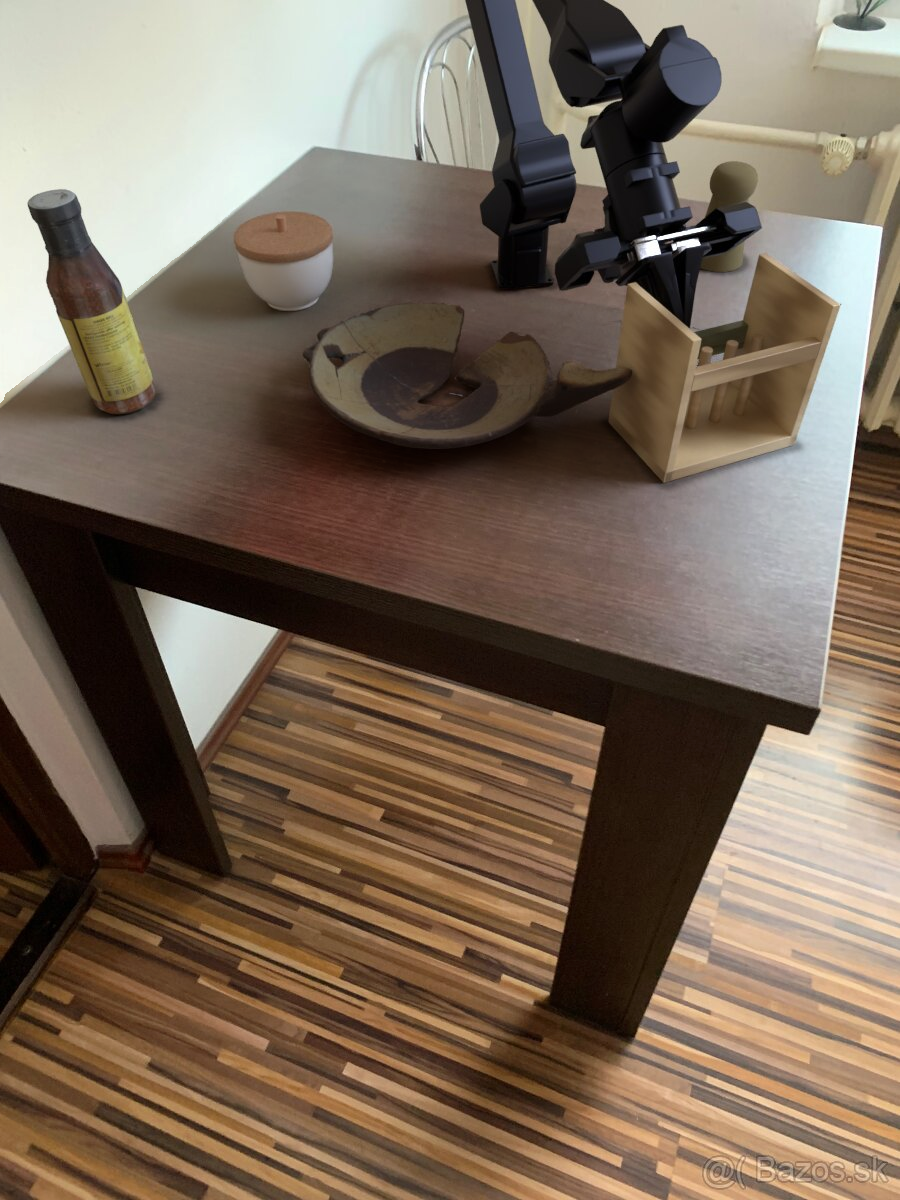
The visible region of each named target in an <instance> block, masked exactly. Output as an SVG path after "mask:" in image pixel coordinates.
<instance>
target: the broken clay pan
mask: <svg viewBox="0 0 900 1200" xmlns="http://www.w3.org/2000/svg"><path fill="white" fill-rule="evenodd" d="M464 319H465V309H464V308H463V307H462V306H461V305H455V304H454V305H453V304H447V303H443V302H441V303H440V302H434V301H433V302H414V301H413V302H412V301H409V302H399V303H393V304H388V305H384V306H381V307H377V308H374V309H373V310H372V309H371V310H369V311H366V312H361V313H360V314H359V315H353V316H352V317H349V318H348V319H346V320H343V321H340V322H339V323H338V324H336V325H333V326H330V327H325V328H322V329H320V330H319V331H318V332H317V334H316V338H317V340H318V341H317V342H316V343H314V344H313V345H312V346H310V347H307V348H305V349H304V350H303V351H302V357H303V359H305V361H306V362H307V363H309V367H308V378H309V381H310V386H311V389H312V391H313V394H314V395H315V397H316V399H317V400H318V402H319V403H320V404H321V406H323V408H324V409H325V410H326V411H327V412H328V413H329V414H330V415H332V416H333V418H335V419H337V421H340V422H341V423H343V424H344V425H346V426H347V427H349V428H350V429H352V430H354V431H357V432H358V433H361V434H364V435H367V436H369V437H372V438H375V439H378V440H379V441H380V440H381V441H383V442H388V443H390V444H393V445H397V446H402V447H406V448H414V449H426V450H427V449H428V450H443V449H444V450H445V449H456V448H464V447H470V446H474V445H480V444H483V443H486V442H487V443H488V442H490V441H494V440H495V439H496V440H497V439H499V438H501V437H504V436H506V435H508V434H510V433H513V432H514V431H515V430H517V429H518V428H520V427H521V426H524V425H525V424H526V423H527V422H529V421H530V420H531V419H532V418H533V417H541V418H551V417H555V416H557V415H560V414H562V413H564V412H567V411H568V410H571V409H572V408H574V407H576V406H579V405H581V404H583V403H585V402H588V401H590V400H592V399H595V398H597V397H599V396H601V395H603V394H606V393H608V392H610V391H613V389H615V388H617V387H619V386H621V385H623V384H624V383H626V382H627V381H628V380H630V378H631V376H632V370H631V369H629V368H626V367H618V368H616V367H614V368H608V369H592V368H588V367H586V366H585V365H584V364H582V363H580V362H579V361H577V360H575V359H573V358H572V359H571V358H570V359H566V360H565V361H563V362H562V364H561V366H560V369H559V370H558V372H557V373H558V374H557V376H556V377H557V378H556V379H554V377H553V376H552V373H551V366H550V361H549V360H548V356H547V354H546V353H545V350H544V349H543V348H542V346H541V345H540V344H539V342H538V341H537V340H536V339H535V338H534V337H533V336H531V335H530V334H529V333H526V334H524V335H521V334H519V333H517V332H514V331H510V332H508V333H506V334H505V335H503V337H502V338H501V339H498V340H497V341H496V342H495V344H494V345H493V346H492V347H491V348H489V349H486V350H485V351H484V352H483V353H481V355H479V357H476V359H474V360H473V361H471V362H470V363H469V364H468V365H466V366H465V367H463V368H462V369H461V370H460V371H458V373H457V374H456V376H455V380H457V381H458V382H459V383H462V384H464V385H466V387H467V386H469V387H472V388H473V389H474V390H473V392H472V393H469V395H467V396H466V397H463V394H456V393H453V392H452V393H451V392H449V393H448V394H449V395H456V396H460V397H461V399H459V401H458V402H457V403H455V404H453V405H451V406H448V407H447V406H440V405H438V406H437V405H433V404H427V403H425V404H424V403H420V402H419V401H422V400H423V399H424V398H426V397H427V396H429V395H431V394H433V393H435V392H436V391H437V390H438V389H440V388H442V386H443V385H444V384H445V381H448V379H449V377H450V376H451V372H452V370H453V367H454V364H455V358H456V357H457V353H458V349H459V348H458V347H459V342H460V338H461V336H462V329H463V324H464ZM332 359H340V360H341V363H342V364H341V365H340V366H336V365H334V363H333V362H332V361H331V360H332ZM462 397H463V398H462Z"/></svg>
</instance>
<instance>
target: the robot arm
mask: <svg viewBox="0 0 900 1200" xmlns="http://www.w3.org/2000/svg"><path fill="white" fill-rule="evenodd" d="M464 1H465V2H464V3H465V5H466V6H465V7H466V9H467V15H468V17H469V21H470V26H471V29H472V34H473V39H474V42H475V46H476V50H477V54H478V60H479V62H480V66H481V71H482V74H483V75H482V76H483V79H484V83H485V87H486V91H487V95H488V99H489V103H490V107H491V111H492V115H493V119H494V123H495V128H496V133H497V136H498V144H497V148H496V151H495V157H494V160H493V164H492V167H491V175H492V180H493V188H492V189H490V192H488V194H487V195H486V196H485V198H484V199H483V200H482V201H481V202H480V204H479V210H480V211H479V212H480V217H481V218H480V219H481V224H482V225H483V226H484V227H485V228H487V230H490V231H491V232H492V233H493V234H495V235H496V236H497V237H498V238H497V239H498V240H497V259H493V260H490V268H491V271H492V273H493V276H494V279H495V282H496V285H497V287H498V288H499V289H500V290H509V289H510V290H512V289H521V288H522V289H523V288H524V289H525V288H535V287H536V288H537V287H549V286H553V285H554V284H555V283H554V278H553V275H552V273H551V270H550V269H549V266H548V263H547V262H548V261H547V259H548V247H549V246H548V243H549V231H550V226H554V225H558V224H565V223H566V222H567V220H568V217H569V214H570V211H571V208H572V205H573V202H574V199H575V196H576V192H577V180H576V176H575V175H576V174H577V170H576V168H575V166H574V164H573V160H572V156H571V151H570V143H569V142H570V141H569V140H568V138H567V137H566V135H565V133H559V134H555V133H553V132H552V131H551V130H550V128H549V127H548V126H547V125H546V124H545V122H544V118H543V114H542V109H541V105H540V101H539V97H538V93H537V92H538V91H537V89H536V83H535V79H534V75H533V70H532V66H531V62H530V58H529V54H528V48H527V45H526V41H525V36H524V32H523V31H524V30H523V28H522V23H521V19H520V15H519V10H518V7H517V2H516V0H464ZM531 1H532V2H533V4H534V6H535V8H536V10H537V12H538V14H539V16H540V18H541V19H542V21H543V24H544V25H545V28H546V30H547V32H548V36H549V38H550V43H549V52H548V53H549V54H548V64H549V67H550V69H551V72H552V74H553V77H554V80H555V83H556V85H557V88H558V90H559V93H560V95H561V97H562V98H563V100H564V101H565V103H566V104H567V105H568V106H569V107H570V108H586V107H590V106H596V105H599V104H604V103H608V102H609V104H607V105H606V106H605V107H604V108H603V109H602V110H601V112H600V113H599V114H596V115H595V114H594V115H589V116H588V118H587V124H586V127H585V130H584V131H583V133H582V135H581V138H580V143H579V144H580V145H579V146H580V148H581V149H582V150H587V149H594V151H595V152H596V156H597V157H596V158H597V160H598V163H599V167H600V171H601V173H602V174H601V175H602V177H603V181H604V185H605V188H606V191H607V195H606V196H605V197H604V198H603V199H602V200H601V202H602V204H603V206H602V211H603V214H604V226H603V227H601V228H596V229H594V231H593V230H590V231H589V230H588V231H585V232H581V233H576V235H575V236H574V239H573V241H571V243H570V244H569V245H568V247H566V249H564V251H563V252H562V253H561V254H560V255H559V256H558V257H557V259H556V261H555V264H554V276H555V279H556V282H557V286H558V290H559V291H561V292H564V291H568V290H572V289H573V290H574V289H577V288H582V287H586V286H588V285H589V284H590V283H591V281H592V279H593V277H594V275H595V272H596V271H597V272H598V274H599V277H600V278H601V280H602V282H603V283H605V284H610V283H614V281H615V285H617V286H618V287H623V286H626V287H627V284H630V283H634V282H636V283H637V284H638V285H639V286H640V287H642V288H643V289H644V290H645V291H646V292H647V293H649V294H650V295H651V296H652V297H653V298H654V299H656V300H657V301H658V302H659V303H660V304H661V305H662V306H664V307H665V308H666V309H667V310H668V311H669V312H671V313H672V314H673V315H674V316H675V317H676V318H678V319H679V320H680V321H681V322H682V323H683V324H685V325H686V326H687V327H688V328H689V329H690V330H691V324H692V317H693V311H694V305H695V304H694V303H695V296H696V289H697V284H698V279H699V275H700V271H701V268H700V267H701V263H702V259H705V258H709V257H713V256H718V255H722V254H725V253H727V252H729V251H731V250H733V249H734V248H736V247H737V246H738V245H740V244H741V243H742V242H744V241H746V240H748V239H749V238H750V237H752V236H753V235H755V234H756V233H757V232H759V231H760V230H762V229H763V227H762V223H761V218H760V216H759V212H758V210H757V208H756V206H755V205H753V204H751V203H750V202H749V201H748V202H743V203H738V204H734V205H729V206H724V207H719V208H716V209H714V210H713V211H712V212H711V213H710V214H708V215H707V216H706V217H705V216H704V218H702V219H701V220H700V221H698V222H697V223H696V224H695V225H689V226H687V225H686V224H687V223H688V222H689V221H690V220H691V219H693V218H694V216H693V214H692V210H691V206H684V207H682V206H681V204H680V200H679V197H678V193H677V190H676V186H675V183H674V179H675V178H676V177H677V176H678V175H679V174H680V172H681V171H680V167H679V164H678V160H677V161H675V160H674V161H671V162H668V158H667V156H666V152H665V148H664V143H668V142H670V141H672V140H673V139H674V138H676V137H677V136H678V135H679V134H680V133H681V132H682V131H683V130H684V129H685V128H686V127H687V126H688V125H689V124H690V123H691V122H692V121H693V120H695V118H696V117H697V116H698V115H699V114H701V112H702V111H704V109H706V108H707V107H708V106H709V105H710V104H711V103H712V102H713V101H714V99H716V98H717V96H718V94H719V93H720V90H721V87H722V69H721V65H720V63H719V61H718V58H717V57H715V56H714V55H713V54H712V53H711V51H710V50H709V49H708V48H707V47H706V46H705V45H704V44H702V43H701V42H700V41H698V40H697V39H694V38H691V37H688V34H687V31H686V29H685V26H684V25H683V24H678V25H673V26H668V27H663V28H662V29H661V30H660V31H659V32H658V34H657V35H656V37H655V38H654V39H653V42H652V43H651V44H650V45H649V44H647V43H645V42H644V40H643V38H642V35H641V34H640V32H639V31H638V30H637V28H636V27H635V25H634V24H633V23H632V21H630V19H629V18H628V17H627V15H626V14H625V13H624V12H623V10H621V9H620V8H618V7H616V6H615V5H613V4H611V3H610V2H608V1H606V0H531ZM744 243H745V242H744Z"/></svg>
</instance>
